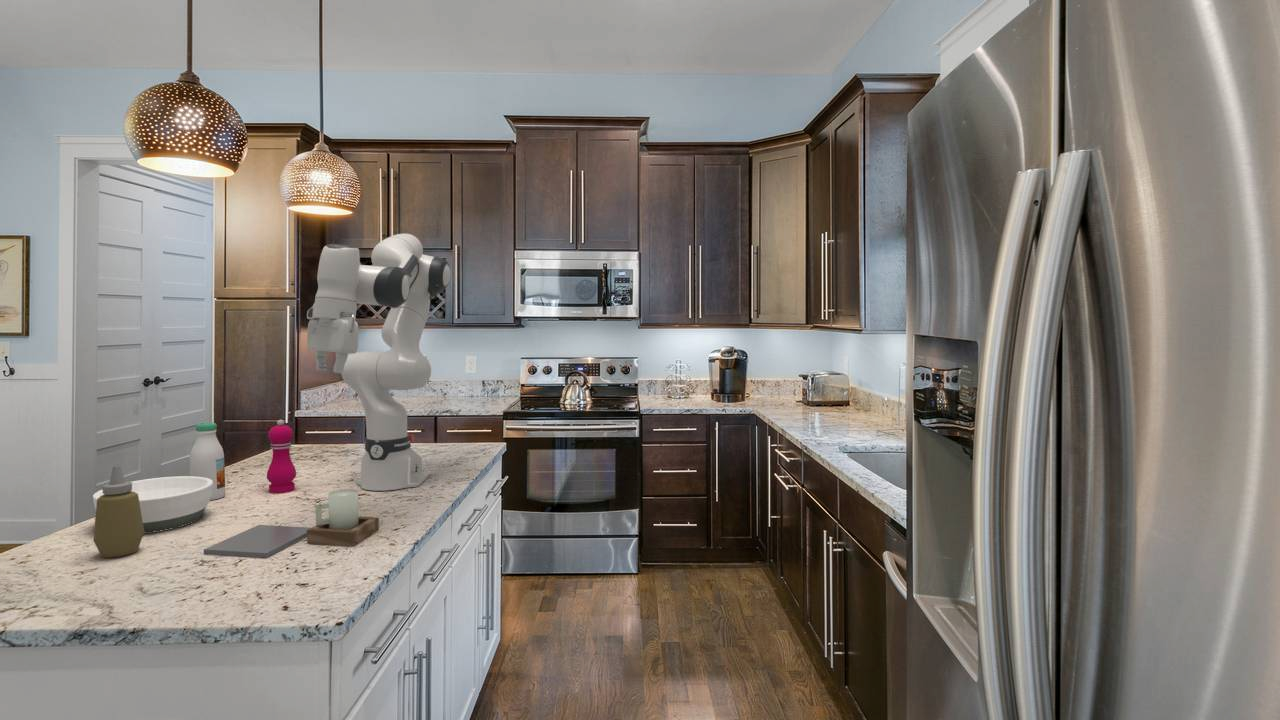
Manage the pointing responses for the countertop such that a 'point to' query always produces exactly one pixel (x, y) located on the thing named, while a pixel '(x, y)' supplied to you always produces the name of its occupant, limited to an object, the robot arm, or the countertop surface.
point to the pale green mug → (340, 510)
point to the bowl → (170, 500)
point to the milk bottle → (208, 458)
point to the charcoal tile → (259, 541)
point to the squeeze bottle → (118, 518)
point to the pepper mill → (281, 460)
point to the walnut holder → (343, 533)
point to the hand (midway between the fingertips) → (329, 372)
